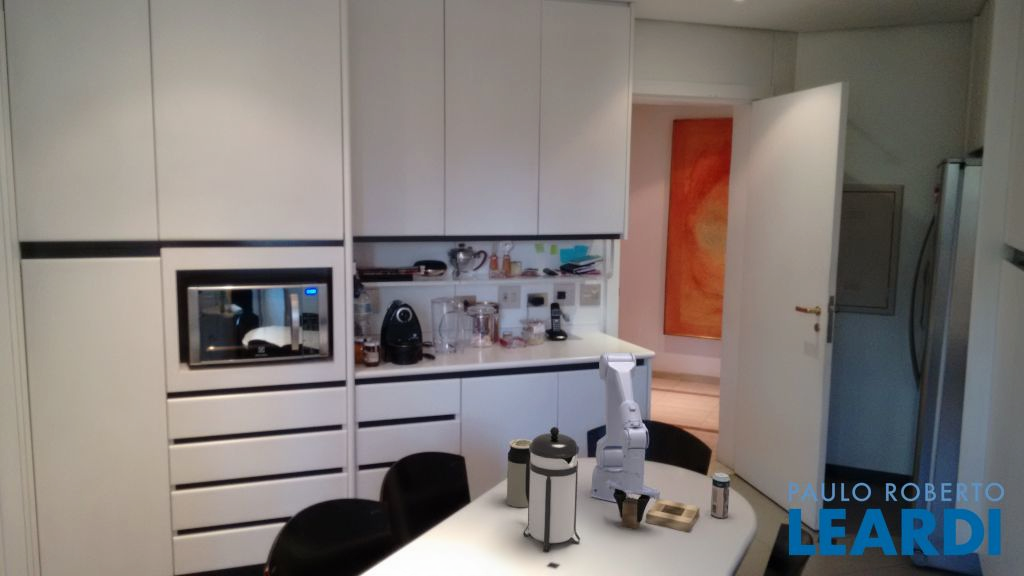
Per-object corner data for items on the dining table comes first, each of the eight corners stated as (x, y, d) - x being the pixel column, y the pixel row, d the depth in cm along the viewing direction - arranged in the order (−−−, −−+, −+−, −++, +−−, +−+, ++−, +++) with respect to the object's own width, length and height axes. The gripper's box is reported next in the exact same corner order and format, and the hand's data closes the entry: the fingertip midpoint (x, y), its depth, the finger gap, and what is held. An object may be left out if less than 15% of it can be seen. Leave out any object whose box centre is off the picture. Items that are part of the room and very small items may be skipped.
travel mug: (538, 500, 201) (539, 441, 199) (527, 510, 194) (528, 449, 192) (513, 495, 204) (515, 437, 203) (502, 504, 197) (503, 444, 195)
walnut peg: (621, 526, 185) (622, 502, 184) (626, 521, 189) (627, 496, 188) (635, 530, 183) (637, 505, 183) (640, 524, 187) (641, 500, 186)
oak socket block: (645, 522, 188) (646, 513, 188) (657, 506, 199) (657, 498, 198) (689, 532, 183) (689, 523, 182) (699, 515, 193) (699, 507, 193)
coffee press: (586, 530, 182) (590, 421, 179) (572, 557, 167) (576, 439, 164) (525, 519, 188) (528, 414, 185) (506, 545, 173) (508, 430, 170)
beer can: (728, 519, 191) (731, 478, 190) (711, 518, 192) (713, 477, 190) (726, 512, 195) (729, 472, 194) (709, 511, 196) (711, 471, 195)
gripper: (603, 470, 184) (601, 518, 185) (655, 480, 177) (653, 530, 179) (611, 462, 190) (609, 508, 192) (662, 472, 184) (660, 520, 185)
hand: (631, 518), depth 186 cm, fingers open, 4 cm apart
